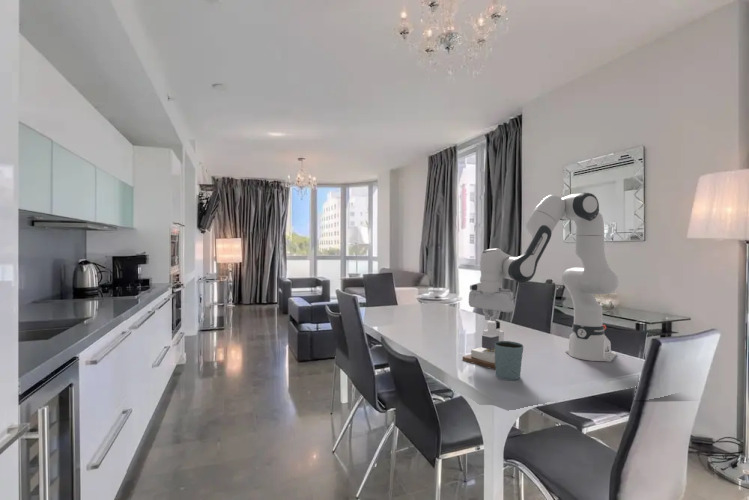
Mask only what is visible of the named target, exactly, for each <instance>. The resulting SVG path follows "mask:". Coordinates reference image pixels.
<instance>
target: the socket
mask: <svg viewBox="0 0 749 500" xmlns="http://www.w3.org/2000/svg"><path fill="white" fill-rule="evenodd" d="M492 350H493V349H492ZM470 354H471V357H473V358H477V359H481V360H484V361H488V362H492V363H495V351H493V352H488V351H487V349H486V348H482V346H481V347H477V348H473V349H471V350H470Z"/></svg>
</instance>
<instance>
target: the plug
mask: <svg viewBox="0 0 749 500" xmlns="http://www.w3.org/2000/svg"><path fill="white" fill-rule="evenodd" d="M497 341H499V336H497V335H493V334H487V335H483V334H482V335H481V347H482V348H486V349H487V351H488V352H490V350H492V349H493V351H495V346H494V343H495V342H497Z"/></svg>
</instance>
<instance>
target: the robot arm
mask: <svg viewBox="0 0 749 500" xmlns="http://www.w3.org/2000/svg"><path fill="white" fill-rule="evenodd" d="M603 218H604V217H603V215H602V214H601V213H600V203H599V200H598V198H597V196H596V195H595V194H593V193H590V192H580V193H570V194H569V195H566V196H561V197H560V196H559V195H556V194H549V195H547V196H545V197H544V198H543V199H542V200H541V201H540V202H539V203H538V204H537V205H536V207H535V208H534V209H533V211H532V212H531V214H530V215H529V216H528V219H527V220H526V223H525V227H526V229H527V232H528V233H529V234H530V235H531V240H530V241H529V243H528V245H527V246H526V248H525V250H524V252H523V253H522V254H521V255H519V256H512V255H510V254H508V253H505V252H504V251H502V249H501V248H497V247H496V248H488V249H485V250H483V251H482V253H481V256H480V263H479V265H480V266H479V267H480V268H479V271H480V278H479V282H477V283H474V284H470V286H469V290H470V291H469V294H468V305H469V307H470V308H475V309H476V308H477V309H482V314H483V315H484V320H485V321H489V320H491V321H497V316H498V314H499V312H501V313H512V312H513V311H514V310H515V303H514V302H515V300H514V292H513V290H511V289H510V288H504V287H503V279H507V280H511V281H515V282H519V283H527V282H530V281H531V280H532V279H533V278H534V276H535V274H536V271H537V267H538V263H539V261H540V259H541V257H542V256H543V253H544V252H545V250H546V249H547V246H548V244H549V242H550V240H551V237H552V233H553V231H554V230H555V227H556V226H557V225H558V223H559V221H574V223H575V225H576V227H575V229H576V230H575V246H574V247H575V250H574V251H575V255H576V257H578V258H580V260H581V263H582V265H583V267H581V266H575V267H574V266H573V267H570V268H567V269H566V270H565V271H563V273H562V276H561V281H562V285H563V286H564V287H565V288H566V289H567V291H568V292H569V295H570V297H571V300H572V307H573V323H572V326H571V327H572V333H571V334H569V338H568V339H569V340H568V349H565V353H566V354H569V356H570V357H572V358H575V359H579V360H583V361H593V362H612V361H613V360H614V359H615V358H616V357H617V356H618V354H617V352H615V351H612V349H611V348H612V347H611V346H612V344H611V341H610V340H609V338H608V337H607V336H606V335H605V330H606V329H607V325H605V324H603V318H604V317H603V316H604V315H603V307H602V305H601V304H600V303H599V302H598V301H597V299H596V297H595V295H610V294H612V293H615V291H616V290H617V288H618V286H619V279H618V276H617V275H616V273H615V272H614V271H613V270H612V269H611V268H610V267H609V264H608V262H607V258H606V255H605V223H604V219H603ZM489 310H490V311H492V313H493V315H492V316H491V315H489V313H488V312H489Z"/></svg>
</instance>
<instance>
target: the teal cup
mask: <svg viewBox="0 0 749 500" xmlns="http://www.w3.org/2000/svg"><path fill="white" fill-rule="evenodd" d="M494 346H495V362H496V363H495V367H496V369H495V377H497V378H498V379H502V380H505V381H517V380H519V379H520V378H521V372H522V371H521V370H522V359H523V352H524V345H523V344H522V343H520V342H516V341H509V340H504V341H497V342H495V343H494Z"/></svg>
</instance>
